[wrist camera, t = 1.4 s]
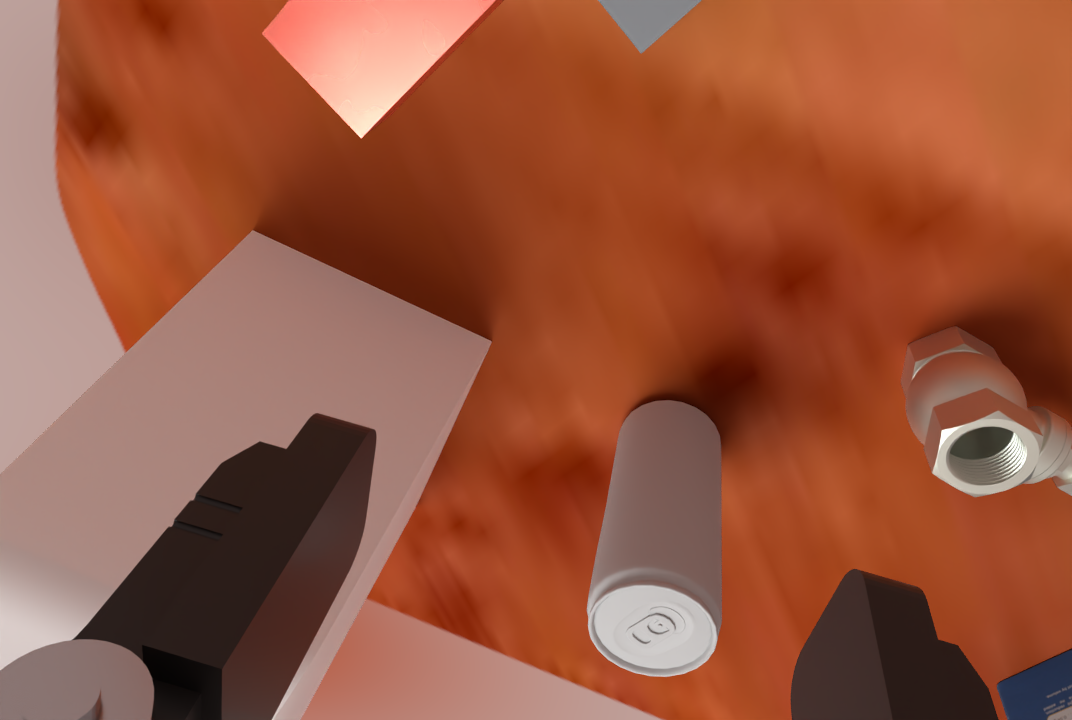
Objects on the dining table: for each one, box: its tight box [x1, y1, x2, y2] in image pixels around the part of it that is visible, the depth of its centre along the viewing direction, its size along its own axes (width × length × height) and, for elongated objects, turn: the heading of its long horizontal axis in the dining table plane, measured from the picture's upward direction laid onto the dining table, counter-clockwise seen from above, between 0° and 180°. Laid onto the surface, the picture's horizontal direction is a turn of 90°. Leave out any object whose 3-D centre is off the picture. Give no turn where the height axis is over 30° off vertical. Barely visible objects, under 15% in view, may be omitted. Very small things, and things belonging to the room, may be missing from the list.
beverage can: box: [587, 400, 722, 677], centre depth 35 cm, size 5×5×12 cm
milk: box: [0, 230, 492, 720], centre depth 31 cm, size 12×12×26 cm
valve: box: [901, 326, 1072, 497], centre depth 33 cm, size 7×7×12 cm
